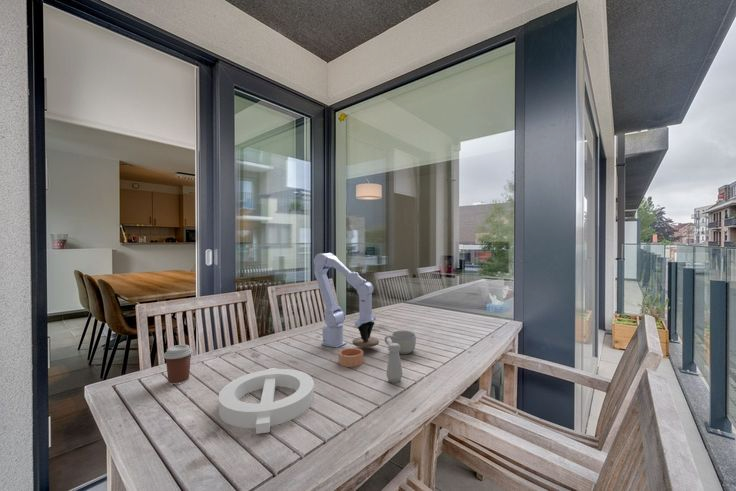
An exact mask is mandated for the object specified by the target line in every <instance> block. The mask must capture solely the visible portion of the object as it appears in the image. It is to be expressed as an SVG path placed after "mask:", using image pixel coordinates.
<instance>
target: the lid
mask: <svg viewBox="0 0 736 491" xmlns="http://www.w3.org/2000/svg"><path fill="white" fill-rule="evenodd" d="M379 343H380V340H379V339H378V338H375V337H372V336H370V338H368V333H367V338H366V340H362V338H361V336H359V337H356V338H354V339H353V340H352V345H354V346H356V347H358V348H359V347H361V348H370V347H371V348H372V347H376V346H378V345H379Z"/></svg>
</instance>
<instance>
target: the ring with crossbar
mask: <svg viewBox="0 0 736 491" xmlns="http://www.w3.org/2000/svg"><path fill="white" fill-rule="evenodd" d="M277 386H280V388H288V389H292V390H295V392H293V393H292V394H290V395H288V396H286V397H283V398H281V399H277V400H275V391H276V388H278V387H277ZM258 390H262V394H261V398H260V402H259V403H250V402H245V401H242V400H240V399H242V398H243V397H245V396H246V395H248V394H250V393H252V391H253V392H255V391H258ZM249 392H250V393H249ZM247 393H248V394H247ZM245 394H246V395H245ZM314 399H315V382H314V379H313V378H312V376H311V375H310V374H308V373H306V372H304V371H300V370H297V369H291V368H277V367H271V368H270V367H269V368H267V369H264V370H259V371H254V372H251V373H247V374H245V375H241V376H239V377H237V378H235V379H234V380H232V381H230V382H228V383H227V384H225V386H224V387H222V389H221V390H220V391H219V394H218V415H219V418H220V419H221V421H223V422H224V423H226V424H227V425H230V426H233V427H237V428H242V429H243V428H245V429H255V434H256V435H258V434H259V435H260V434H265V433H270V431H271V427H273V426H277V425H280V424H283V423H286V422H288V421H291V420H293V419H296V418H298V417H299V416H301V415H303V413H305V412H306V411H307V410H309V408H311V406H312V405H313V403H314ZM274 400H275V401H274Z"/></svg>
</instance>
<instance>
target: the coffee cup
mask: <svg viewBox="0 0 736 491" xmlns="http://www.w3.org/2000/svg"><path fill="white" fill-rule="evenodd" d="M193 353H194V351H193V348H191V347H190V345H188V344H177V345H173V346H170V347H168V348H167V349H166V352H164V353H163V359H165V364H166V371H167V381H168V383H169V385H170V384H178V385H180V384H179V383H182V384H184V383H183V382H185V383H187V382H189V380H190V372H191V371H190V369H191V356H192V354H193ZM186 381H187V382H186Z"/></svg>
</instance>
